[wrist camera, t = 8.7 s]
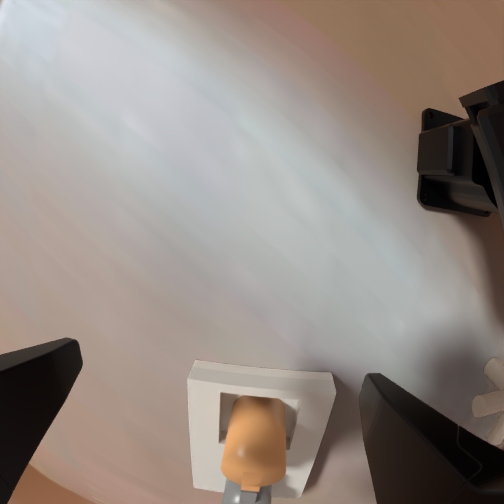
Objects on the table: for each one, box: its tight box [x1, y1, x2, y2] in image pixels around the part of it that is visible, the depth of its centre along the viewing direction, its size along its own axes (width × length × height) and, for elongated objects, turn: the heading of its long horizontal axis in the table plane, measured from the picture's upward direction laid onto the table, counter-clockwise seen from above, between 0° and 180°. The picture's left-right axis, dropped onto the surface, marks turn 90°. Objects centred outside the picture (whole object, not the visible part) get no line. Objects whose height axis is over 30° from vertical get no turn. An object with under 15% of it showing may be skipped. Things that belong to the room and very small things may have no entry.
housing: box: [187, 360, 336, 504], centre depth 20 cm, size 10×14×6 cm
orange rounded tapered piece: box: [221, 395, 286, 492], centre depth 19 cm, size 4×5×6 cm
